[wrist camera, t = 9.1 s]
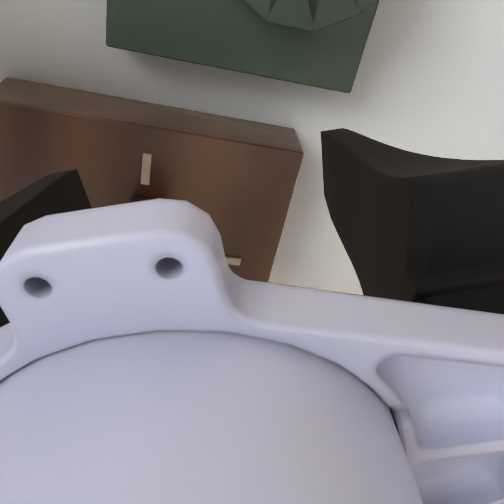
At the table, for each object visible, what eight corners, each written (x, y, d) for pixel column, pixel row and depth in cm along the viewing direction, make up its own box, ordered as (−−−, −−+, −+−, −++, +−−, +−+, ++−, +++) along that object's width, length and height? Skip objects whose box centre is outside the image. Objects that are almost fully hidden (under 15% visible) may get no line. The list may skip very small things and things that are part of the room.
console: (23, 273, 26) (2, 311, 24) (6, 76, 20) (-25, 98, 18) (250, 299, 28) (253, 337, 26) (294, 128, 22) (304, 154, 20)
